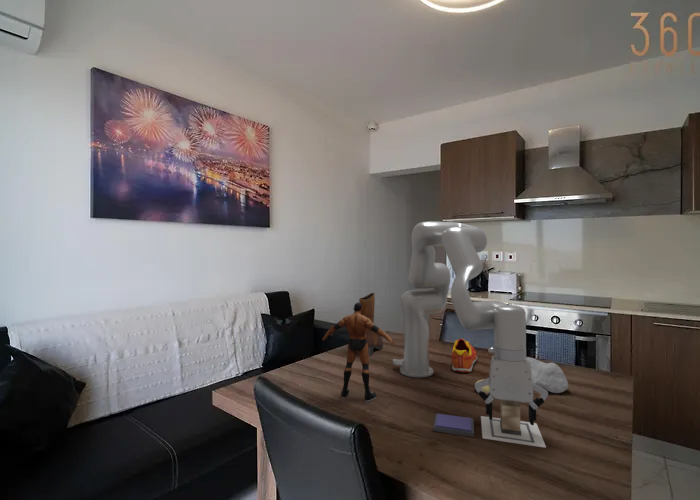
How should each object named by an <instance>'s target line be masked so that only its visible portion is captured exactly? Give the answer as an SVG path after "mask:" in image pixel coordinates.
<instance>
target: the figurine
mask: <svg viewBox="0 0 700 500" xmlns="http://www.w3.org/2000/svg"><path fill="white" fill-rule="evenodd" d="M353 311H354V312H353V313H351V314H348V315H345V316H344V317H343V318H341V320H339V321H338V322H336V323H335V324H332V325H331V327H330V328H329V329H328V331H326V333H325V334H324V336H323V337H322V341H325V340H327V339H328V337H329V336H331V337H333V333H337V331H338V330H339V329H342V328H344V327H345V329H346V331H347V332H348V335H349V337H348V338H349V340H348V345H347V352H346V353H347V354H346V365H345V368H344V371H343V387H342V389H341V393H340V394H341V398H342V399H347V397H348V396H349V394H350V392H351V391H350V390H349V389H348V388H349V382H350V379H351V375H352V371H353V370H352V368H353V367H352V366H353V364H354V362H355V359H356V357H357V356H356V354H357V353H358V352H359V356H358V358H359V359H360V363H361V366H362V369H361V378H362V381H363V387H364V401H365V402H371V401H372V400H374V399H376V398H377V397H378V396H377V394H376V392H372V390H371V389H370V371H369V369H370V367H369V366H370V365H369V364H370V356H369V352H368V345H367V340H366V329H367V327H368V328H369V329H370V330H372V331H374V332H375V333H376V334H377V335H379V336H381V338H382V337H383V339H385V340H386V341H387V342H389V343H390V344H391V346H392V347H395V346H396V345H395V344H396V343H395V342H394V341H393V338H392V337H390V335H388V334H387V333H386V332H385V330H383V329H381V328H380V327H378V326H377V325H375V324H374V322H373V323H372V322H371V320H370V319H369V318H367V317H365V316H363V315H361V313H362V304H361V303H359V302H356V303H354V305H353Z"/></svg>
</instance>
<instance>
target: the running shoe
mask: <svg viewBox="0 0 700 500" xmlns="http://www.w3.org/2000/svg"><path fill="white" fill-rule="evenodd" d="M451 351H452V352H451V363H452V370H453V372H457V373H465V374H466V373H471V372H472V369H473V366H474V364H475V362H477V360H478V354H477V350H476V349H475V348H474V347H473V346H472V345H471V343H470V341H468V340H465V339H464V338H459V339H456V340H455V341H454V344H453V346H452V350H451Z"/></svg>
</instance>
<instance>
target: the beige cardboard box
mask: <svg viewBox="0 0 700 500" xmlns="http://www.w3.org/2000/svg"><path fill="white" fill-rule="evenodd" d="M500 419H501V421H500V427H501V432H502V433H506V434H513V435H520V436H521V430H520V421H521V406H520V402H515V401H507V400H500Z"/></svg>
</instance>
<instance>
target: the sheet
mask: <svg viewBox="0 0 700 500" xmlns="http://www.w3.org/2000/svg"><path fill="white" fill-rule="evenodd" d="M480 421H481V422H480V423H481V425H480V426H481V434H482V435H481V436H482V439H485V440H492V441H499V442H504V443H509V444H510V443H512V444H517V445H525V446H531V447H539V448H544V449H546V448H547V446H546V444H545V441H544V439H543V436H542V434H541V431H540V429H539V427H538V423H536V422H534V425H531V424H530V422H529V421H523V420H520V430H521V436H520V435H513V434H506V433H502V432H501V427H500V421H501V417H493V416H492V420H489V416H482V415H480Z"/></svg>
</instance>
